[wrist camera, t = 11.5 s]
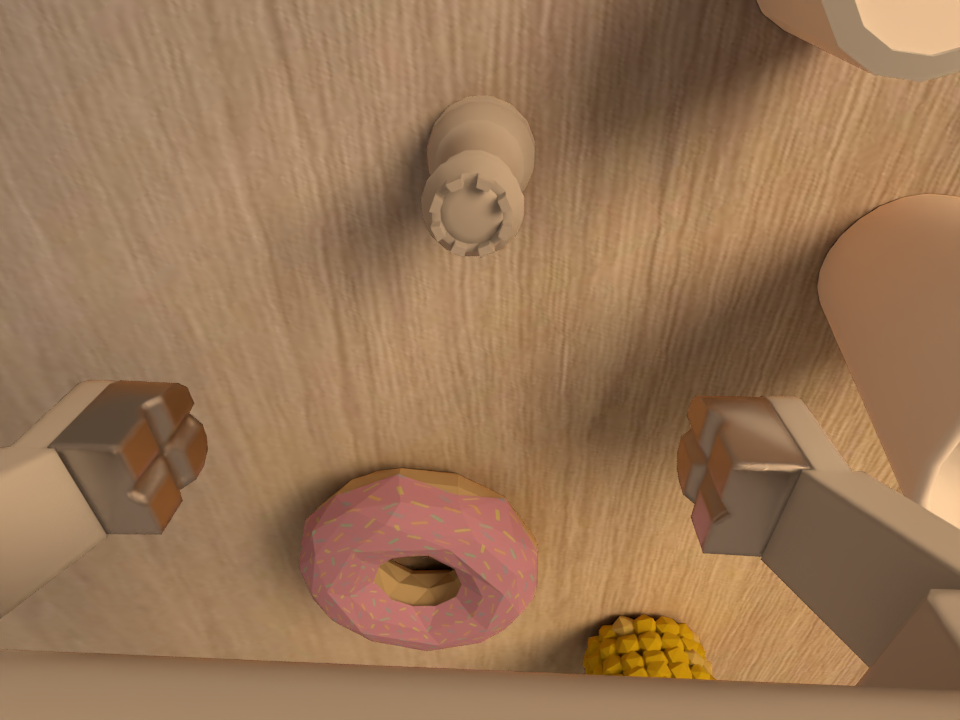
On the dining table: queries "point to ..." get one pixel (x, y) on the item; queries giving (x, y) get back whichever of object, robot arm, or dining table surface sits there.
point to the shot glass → (878, 33)
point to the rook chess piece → (477, 175)
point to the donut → (419, 532)
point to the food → (647, 650)
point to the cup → (904, 337)
